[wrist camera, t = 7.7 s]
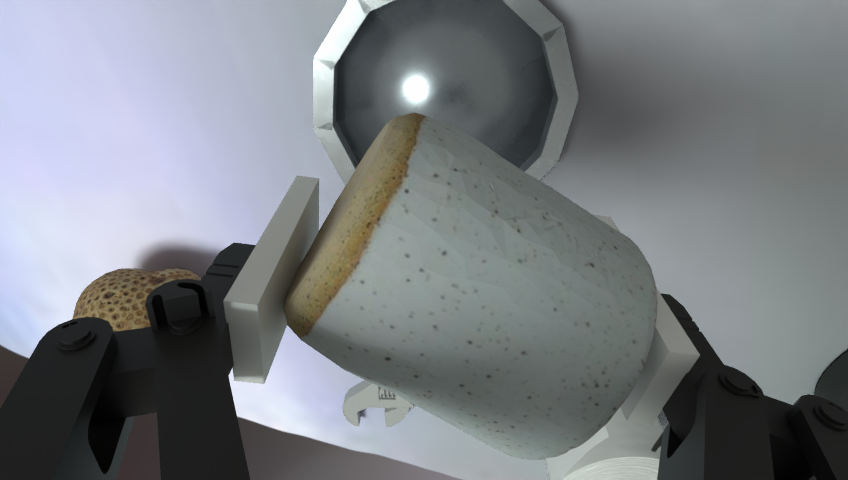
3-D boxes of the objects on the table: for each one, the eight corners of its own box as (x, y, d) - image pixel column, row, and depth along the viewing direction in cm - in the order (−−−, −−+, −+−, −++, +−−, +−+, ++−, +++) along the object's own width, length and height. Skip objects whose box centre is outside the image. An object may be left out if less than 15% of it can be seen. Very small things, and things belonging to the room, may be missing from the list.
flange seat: (603, -16, 26) (614, -13, 24) (529, 223, 34) (534, 236, 33) (321, -62, 25) (314, -62, 23) (318, 196, 33) (313, 208, 32)
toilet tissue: (581, 437, 49) (612, 538, 41) (498, 393, 45) (513, 494, 37) (663, 385, 44) (717, 489, 36) (578, 331, 41) (615, 432, 32)
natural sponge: (118, 304, 40) (34, 400, 31) (118, 223, 35) (18, 310, 27) (223, 331, 41) (169, 430, 33) (236, 257, 37) (177, 350, 28)
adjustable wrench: (453, 221, 35) (454, 233, 34) (522, 252, 37) (526, 265, 35) (337, 404, 47) (334, 419, 46) (393, 422, 49) (392, 437, 47)
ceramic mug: (407, 61, 14) (379, 173, 7) (609, 193, 16) (723, 367, 9) (276, 288, 19) (192, 471, 12) (442, 363, 21) (443, 550, 15)
